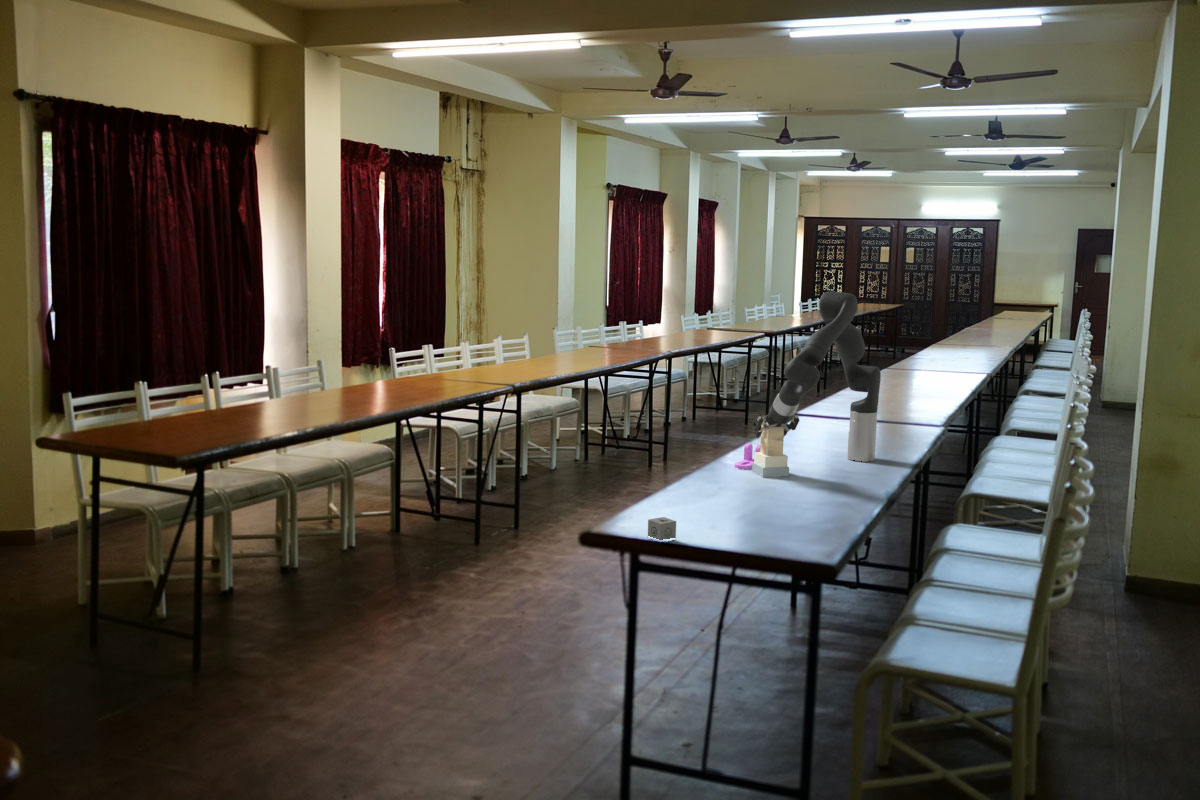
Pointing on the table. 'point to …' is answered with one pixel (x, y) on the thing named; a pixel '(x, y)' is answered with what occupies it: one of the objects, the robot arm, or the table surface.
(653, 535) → the dice cube
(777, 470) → the tower base
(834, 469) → the table surface
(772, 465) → the tower top
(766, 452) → the maple pillar
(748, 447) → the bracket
